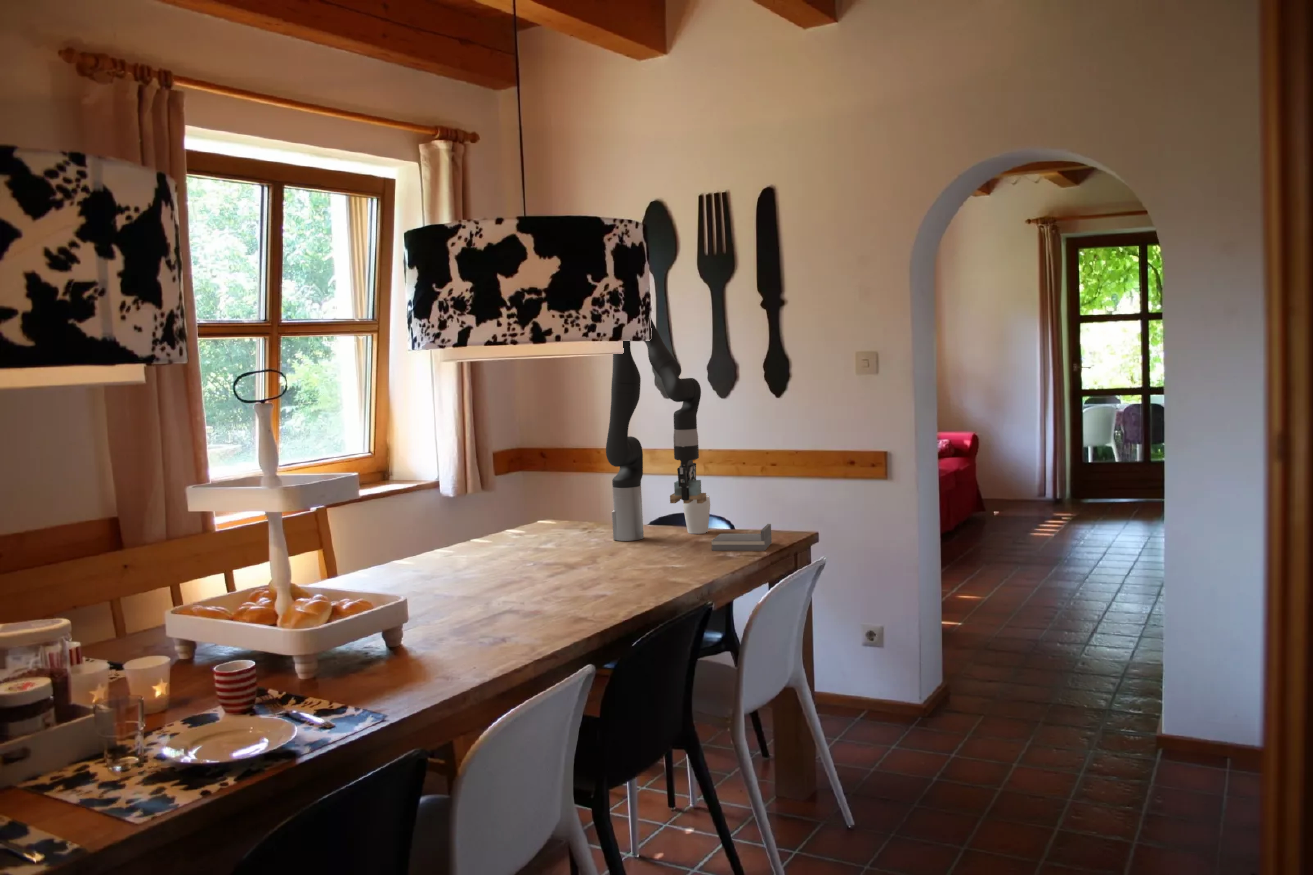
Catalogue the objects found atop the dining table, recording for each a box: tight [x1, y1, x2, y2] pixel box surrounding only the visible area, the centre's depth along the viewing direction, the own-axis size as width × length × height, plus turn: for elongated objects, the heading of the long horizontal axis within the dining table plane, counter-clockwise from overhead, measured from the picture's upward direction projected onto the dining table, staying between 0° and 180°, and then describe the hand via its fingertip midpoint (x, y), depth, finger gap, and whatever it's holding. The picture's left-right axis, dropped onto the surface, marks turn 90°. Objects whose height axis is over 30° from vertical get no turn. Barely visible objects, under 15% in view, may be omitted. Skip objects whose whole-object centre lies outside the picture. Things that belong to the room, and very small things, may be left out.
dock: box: [711, 523, 773, 552], centre depth 320 cm, size 16×12×6 cm
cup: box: [682, 494, 711, 535], centre depth 350 cm, size 9×9×12 cm
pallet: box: [669, 479, 707, 504], centre depth 323 cm, size 10×6×6 cm, turn 74°
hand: (688, 498), depth 323 cm, fingers closed on pallet, 5 cm apart
